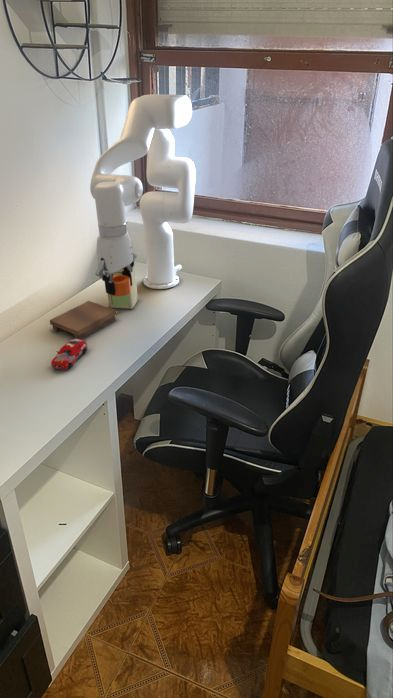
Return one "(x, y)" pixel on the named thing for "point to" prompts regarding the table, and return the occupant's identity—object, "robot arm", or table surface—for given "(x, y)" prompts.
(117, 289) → the ring
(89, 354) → the table surface
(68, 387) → the table surface
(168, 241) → the robot arm
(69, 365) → the race car
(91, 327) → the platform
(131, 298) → the toy refrigerator
